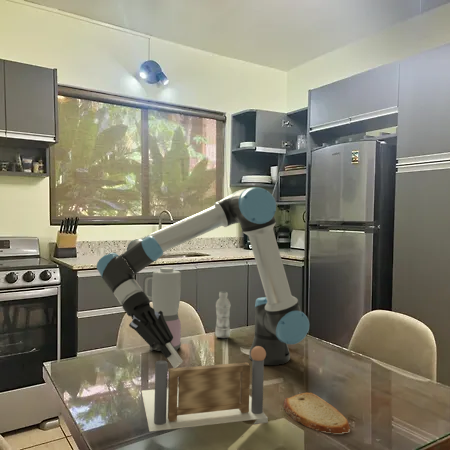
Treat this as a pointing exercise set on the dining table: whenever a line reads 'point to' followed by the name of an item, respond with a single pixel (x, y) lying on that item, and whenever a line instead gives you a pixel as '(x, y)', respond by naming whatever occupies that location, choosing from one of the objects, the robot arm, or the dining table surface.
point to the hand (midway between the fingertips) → (178, 364)
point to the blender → (166, 299)
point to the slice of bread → (315, 413)
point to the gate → (208, 389)
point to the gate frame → (159, 412)
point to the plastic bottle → (222, 316)
